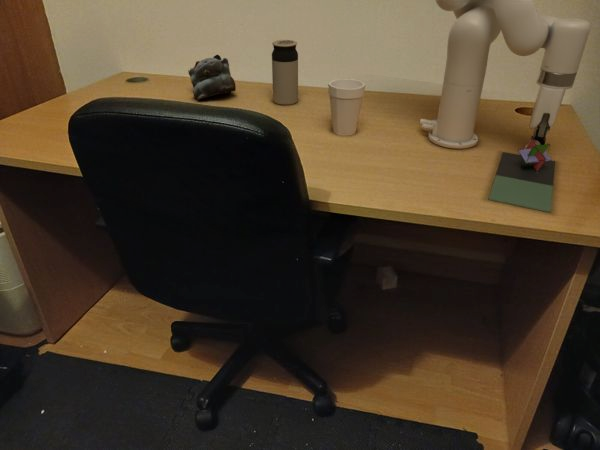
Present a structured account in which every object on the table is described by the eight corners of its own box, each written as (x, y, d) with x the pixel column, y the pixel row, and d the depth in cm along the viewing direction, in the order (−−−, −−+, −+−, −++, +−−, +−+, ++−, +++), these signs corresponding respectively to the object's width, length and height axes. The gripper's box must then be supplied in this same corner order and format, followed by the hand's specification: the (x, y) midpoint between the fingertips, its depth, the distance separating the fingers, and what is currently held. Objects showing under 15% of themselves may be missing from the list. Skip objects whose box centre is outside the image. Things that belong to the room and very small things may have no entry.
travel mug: (302, 100, 154) (303, 41, 144) (289, 107, 148) (288, 46, 138) (282, 95, 157) (281, 38, 148) (268, 102, 152) (266, 43, 142)
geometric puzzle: (561, 168, 108) (556, 133, 108) (534, 170, 106) (529, 135, 107) (540, 173, 115) (535, 141, 115) (514, 176, 113) (509, 143, 114)
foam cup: (366, 128, 134) (369, 81, 127) (355, 140, 127) (358, 91, 120) (334, 122, 137) (336, 77, 130) (322, 134, 130) (323, 86, 123)
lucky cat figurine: (187, 102, 151) (176, 58, 150) (202, 105, 163) (192, 64, 161) (231, 90, 148) (220, 44, 146) (243, 94, 159) (233, 52, 158)
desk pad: (488, 199, 101) (488, 198, 100) (502, 153, 120) (502, 152, 120) (550, 212, 96) (550, 211, 96) (554, 162, 116) (555, 161, 116)
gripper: (539, 68, 115) (520, 139, 125) (536, 84, 104) (515, 161, 114) (574, 71, 112) (551, 144, 122) (574, 89, 101) (549, 167, 111)
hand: (534, 152), depth 118 cm, fingers closed
